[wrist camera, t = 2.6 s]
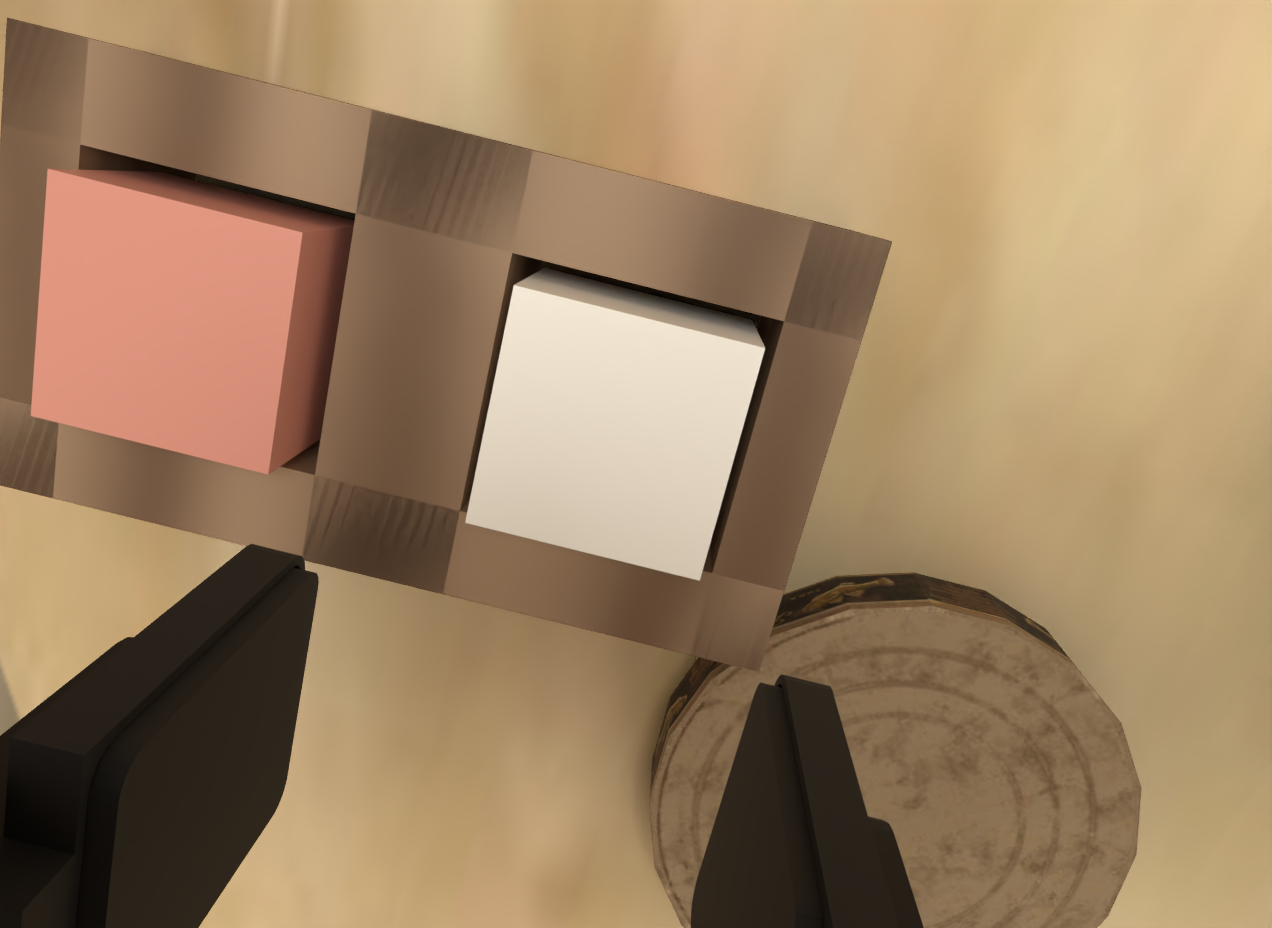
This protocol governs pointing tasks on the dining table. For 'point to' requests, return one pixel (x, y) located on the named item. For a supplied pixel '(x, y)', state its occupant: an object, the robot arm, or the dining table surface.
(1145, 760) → the dining table surface
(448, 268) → the frame
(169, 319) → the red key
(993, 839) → the brown flat disc
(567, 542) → the white block
